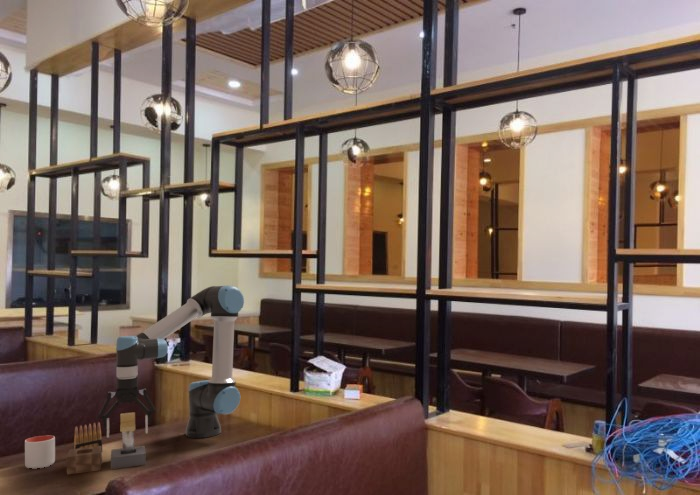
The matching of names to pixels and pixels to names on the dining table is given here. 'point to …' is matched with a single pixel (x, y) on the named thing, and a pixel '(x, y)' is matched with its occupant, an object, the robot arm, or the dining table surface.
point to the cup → (39, 451)
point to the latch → (127, 422)
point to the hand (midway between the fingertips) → (127, 434)
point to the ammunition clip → (87, 437)
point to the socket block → (128, 458)
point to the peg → (128, 442)
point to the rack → (84, 460)
